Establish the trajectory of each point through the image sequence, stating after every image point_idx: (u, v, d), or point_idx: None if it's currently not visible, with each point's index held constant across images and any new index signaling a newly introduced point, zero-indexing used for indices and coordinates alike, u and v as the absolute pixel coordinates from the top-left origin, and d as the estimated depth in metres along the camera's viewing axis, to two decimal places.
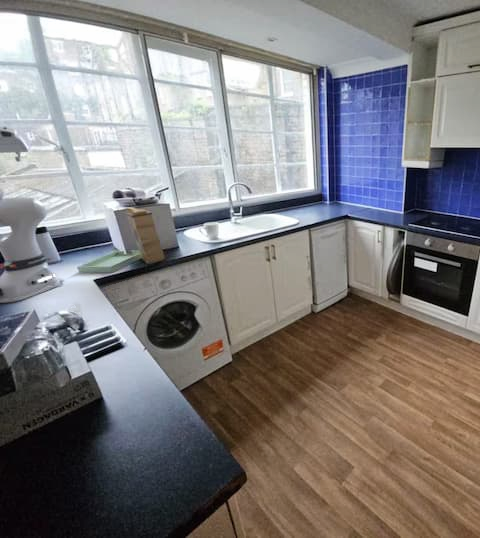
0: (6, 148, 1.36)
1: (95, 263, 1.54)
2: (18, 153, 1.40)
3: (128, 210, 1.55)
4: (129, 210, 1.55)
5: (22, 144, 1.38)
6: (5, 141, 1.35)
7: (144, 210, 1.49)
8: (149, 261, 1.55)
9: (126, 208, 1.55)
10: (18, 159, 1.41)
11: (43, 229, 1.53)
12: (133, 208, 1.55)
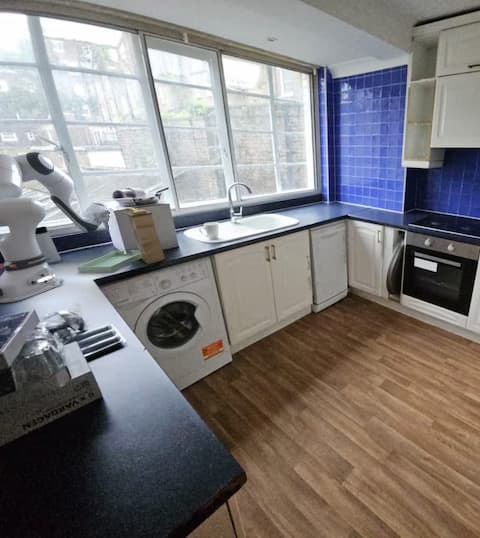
0: None
1: (95, 263, 1.54)
2: None
3: (128, 210, 1.55)
4: (129, 210, 1.55)
5: None
6: None
7: (144, 210, 1.49)
8: (149, 261, 1.55)
9: (126, 208, 1.55)
10: None
11: (43, 229, 1.53)
12: (133, 208, 1.55)
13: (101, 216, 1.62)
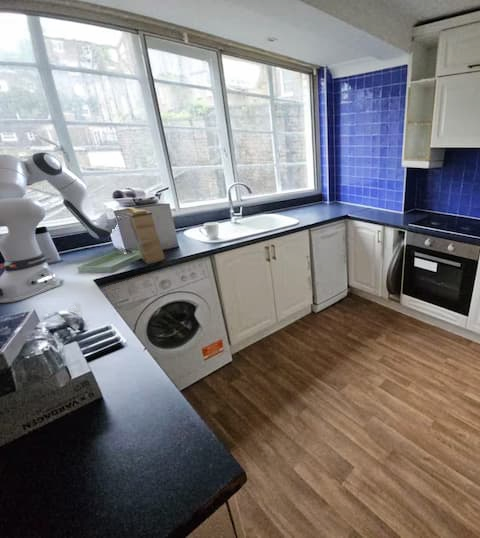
0: None
1: (95, 263, 1.54)
2: None
3: (128, 210, 1.55)
4: (129, 210, 1.55)
5: None
6: None
7: (144, 210, 1.49)
8: (149, 261, 1.55)
9: (126, 208, 1.55)
10: None
11: (43, 229, 1.53)
12: (133, 208, 1.55)
13: (113, 222, 1.59)
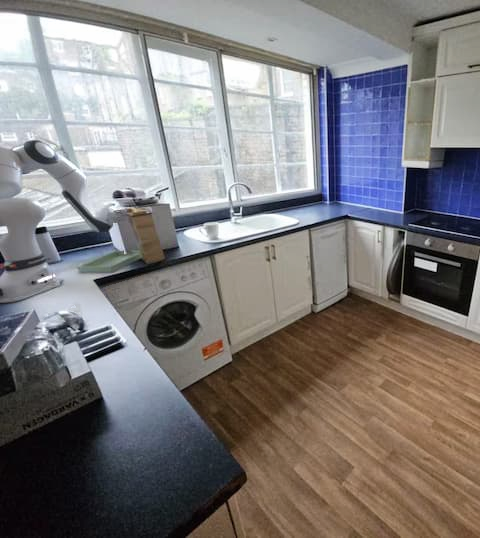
0: None
1: (95, 263, 1.54)
2: None
3: (129, 210, 1.55)
4: (130, 210, 1.55)
5: None
6: None
7: (144, 210, 1.49)
8: (149, 261, 1.55)
9: None
10: None
11: (43, 229, 1.53)
12: (134, 208, 1.55)
13: (115, 216, 1.53)
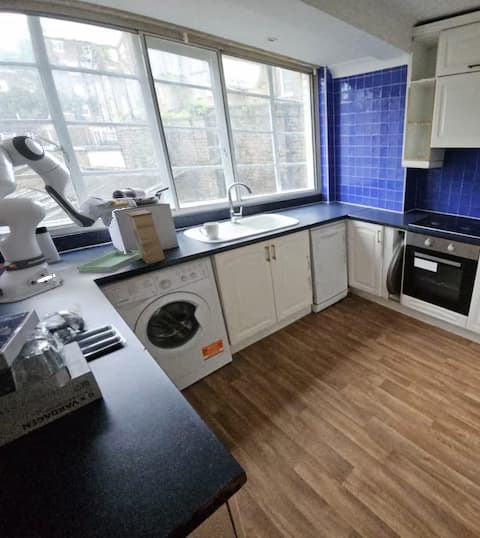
0: None
1: (95, 263, 1.54)
2: None
3: None
4: (112, 203, 1.55)
5: None
6: None
7: (126, 202, 1.49)
8: (149, 261, 1.55)
9: None
10: None
11: (43, 229, 1.53)
12: (116, 201, 1.55)
13: (97, 208, 1.53)
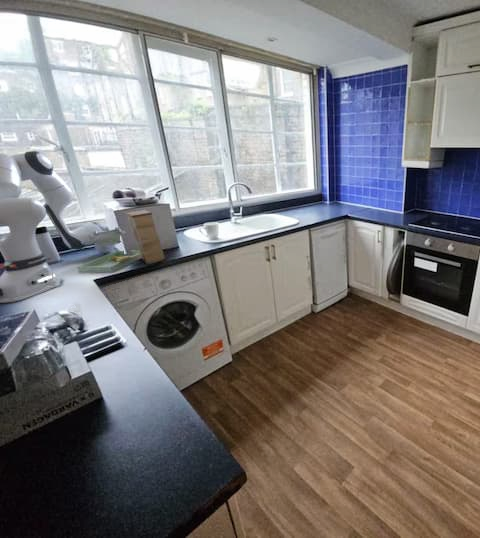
0: None
1: (95, 263, 1.54)
2: None
3: (112, 259, 1.58)
4: (113, 259, 1.59)
5: None
6: None
7: (128, 256, 1.53)
8: (149, 261, 1.55)
9: (110, 258, 1.59)
10: None
11: (43, 229, 1.53)
12: (117, 256, 1.58)
13: (89, 238, 1.50)
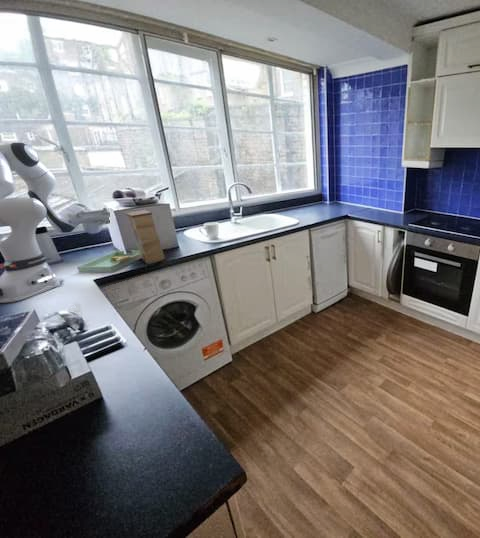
0: None
1: (95, 263, 1.54)
2: None
3: (112, 259, 1.58)
4: (113, 259, 1.59)
5: None
6: None
7: (128, 256, 1.53)
8: (149, 261, 1.55)
9: (110, 258, 1.59)
10: None
11: (43, 229, 1.53)
12: (117, 256, 1.58)
13: (76, 217, 1.53)
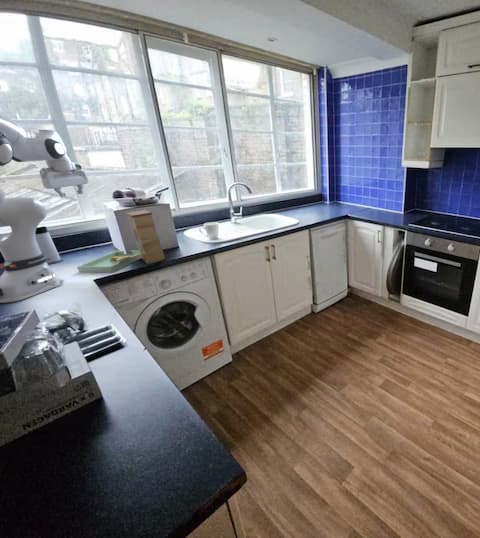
0: (76, 181, 1.49)
1: (95, 263, 1.54)
2: (81, 185, 1.53)
3: (112, 259, 1.58)
4: (113, 259, 1.59)
5: (85, 176, 1.54)
6: (74, 174, 1.49)
7: (128, 256, 1.53)
8: (149, 261, 1.55)
9: (110, 258, 1.59)
10: (82, 191, 1.53)
11: (43, 229, 1.53)
12: (117, 256, 1.58)
13: None
